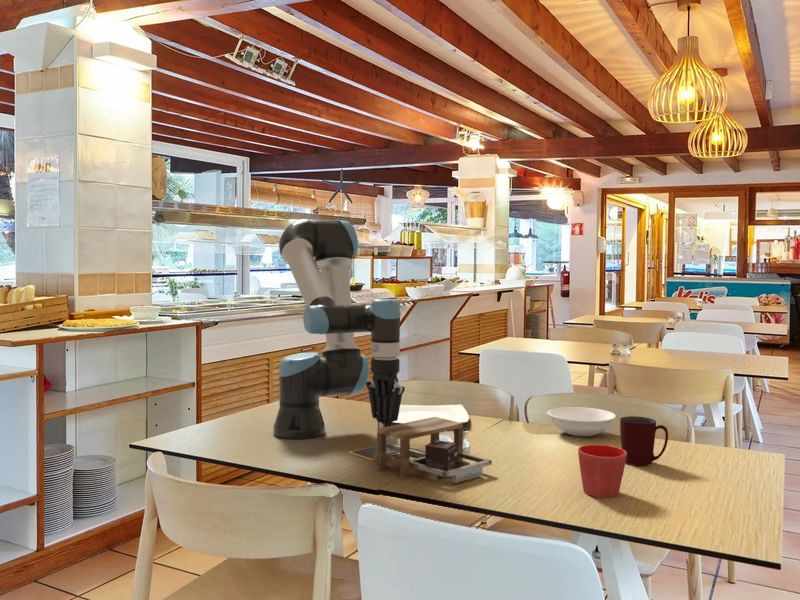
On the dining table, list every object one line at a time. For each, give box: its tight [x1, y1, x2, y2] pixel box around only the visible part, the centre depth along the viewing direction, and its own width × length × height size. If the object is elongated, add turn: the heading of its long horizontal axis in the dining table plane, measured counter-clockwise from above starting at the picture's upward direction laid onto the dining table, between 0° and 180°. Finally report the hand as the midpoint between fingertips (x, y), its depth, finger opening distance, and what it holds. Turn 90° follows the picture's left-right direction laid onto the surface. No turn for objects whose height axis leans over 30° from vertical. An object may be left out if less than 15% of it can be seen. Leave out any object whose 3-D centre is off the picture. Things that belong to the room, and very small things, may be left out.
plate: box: [392, 404, 470, 426], centre depth 243 cm, size 29×29×3 cm
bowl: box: [547, 406, 617, 437], centre depth 225 cm, size 20×20×6 cm
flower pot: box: [577, 444, 627, 499], centre depth 170 cm, size 11×11×10 cm
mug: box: [619, 415, 669, 467], centre depth 194 cm, size 12×9×11 cm
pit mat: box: [347, 445, 400, 462], centre depth 202 cm, size 10×12×1 cm
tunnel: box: [373, 417, 471, 482], centre depth 190 cm, size 22×20×10 cm
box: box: [424, 440, 457, 479], centre depth 184 cm, size 6×6×7 cm
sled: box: [386, 436, 493, 484], centre depth 189 cm, size 29×16×5 cm, turn 43°
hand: (384, 446), depth 200 cm, fingers closed
